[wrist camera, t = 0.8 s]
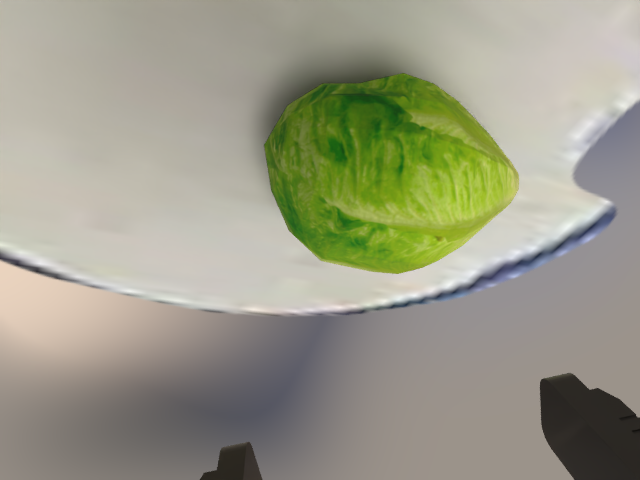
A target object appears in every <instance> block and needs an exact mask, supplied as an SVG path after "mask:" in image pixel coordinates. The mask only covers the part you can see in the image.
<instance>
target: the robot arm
mask: <svg viewBox="0 0 640 480" xmlns="http://www.w3.org/2000/svg"><path fill="white" fill-rule="evenodd" d="M540 398H541V399H540V400H541V423H542V429H543V433H544V435H545V438H546V440H547V442H548V444H549V446H550V447H551V449H552V450H553V452H554V453H555V454H556V455H557V457H558V458H559V460H560V461H561V462H562V463H563V465H564V466H565V467H566V469H567V470H568V472H569V473H570V474H571V476H572V477H573V478H574V480H640V418H637V416H636V414H635V413H634V412H633V411H632V410H631V409H630V408H628V407H627V406H626V405H625V404H624V403H623V402H622V401H621V400H620V399H618V398H616V397H614V396H612V395H610V394H608V393H606V392H604V391H602V390H600V389H599V388H596V389H592V390H589V389H588V388H587V387H586V386H585V385H584V384H583V383H582V382H581V381H580V380H579V379H578V378H577V377H576V376H575V375H573V374H571V373H567V374H562V375H558V376H553V377H549V378H544V379H542V380H541V382H540ZM200 480H262V477H261V474H260V471H259V467H258V464H257V461H256V458H255V455H254V451H253V448H252V446H251V444H250V442H246V443H241V444H236V445H231V446H227V447H223V448H222V449H221V451H220V456H219V461H218V467H217V470H216V471H211V472H207V473H204V474H203V476H202V477H201V479H200Z"/></svg>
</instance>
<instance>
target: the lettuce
mask: <svg viewBox="0 0 640 480" xmlns="http://www.w3.org/2000/svg"><path fill="white" fill-rule="evenodd" d="M264 147H265V154H266V160H267V166H268V173H269V179H270V185H271V190H272V193H273V195H274V197H275V200H276V202H277V204H278V207H279V209H280V211H281V213H282V216H283V218H284V220H285V223H286V225H287V227H288V230H289V231H290V232H291V233H292V234H293V235H294V236H295V237H296V238H297V239H298V240H299V241H300V242H302V243H303V244H304V245H305V246H306V247H307V248H308V249H309V250H310V251H311V252H312V253H313V254H314V255H315V256H316V257H317V258H319V259H320V260H321V261H324V262H329V263H333V264H338V265H343V266H347V267H352V268H357V269H362V270H367V271H372V272H382V273H394V274H399V273H403V272H407V271H411V270H415V269H419V268H423V267H425V266H427V265H429V264H431V263H434V262H436V261H438V260H440V259H441V258H443V257H445V256H446V255H448V254H449V253H451V252H453V251H454V250H456V249H458V248H459V247H461V246H462V245H464V244H465V243H466V242H467V241H468V240H469V239H470V238H472V237H473V236H474V235H475V234H476V233H477V232H478V231H480V230H481V229H482V228H483V227H484V226H485V225H486V224H487V223H488V222H490V221H491V220H492V219H493V218H494V217H495V216H496V215H498V214H499V213H500V212H501V211H502V210H504V209H505V208H506V207H507V206H508V205H509V204H510V203H511V201H512V200H513V198H514V197H515V195H516V193H517V191H518V189H519V175H518V172H517V171H516V169H515V168H514V166H513V164H512V163H511V161H510V160H509V159H508V158H507V157H506V155H505V154H504V153H503V151H502V150H501V149H500V147H499V146H498V145H497V144H496V142H495V141H494V140H493V138H492V137H491V136H490V135H489V134H488V132H487V131H486V130H485V129H484V128H483V127H482V126H481V125H480V124H479V123H478V122H477V121H476V119H475V118H474V117H473V116H472V115H471V114H470V113H469V112H468V111H467V110H466V109H465V108H464V107H463V106H462V105H461V104H460V103H459V102H458V101H457V100H455V99H454V98H453V97H451V96H450V95H449V94H447V93H446V92H444V91H443V90H442V89H440V88H439V87H438V86H436V85H435V84H433V83H430V82H427V81H424V80H422V79H419V78H416V77H413V76H410V75H407V74H404V73H402V74H397V75H393V76H388V77H384V78H380V79H375V80H371V81H366V82H362V83H323V84H321V85H319V86H318V87H316V88H315V89H313V90H311V91H310V92H308V93H307V94H305V95H303V96H302V97H300V98H299V99H297V100H295V101H294V102H292V103H290V104H289V105H287V107H286V109H285V110H284V112H283V114H282V115H281V117H280V119H279V121H278V122H277V124H276V126H275V127H274V129H273V131H272V132H271V134H270V136H269V138H268V139H267V141H266V143H265V144H264Z"/></svg>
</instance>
